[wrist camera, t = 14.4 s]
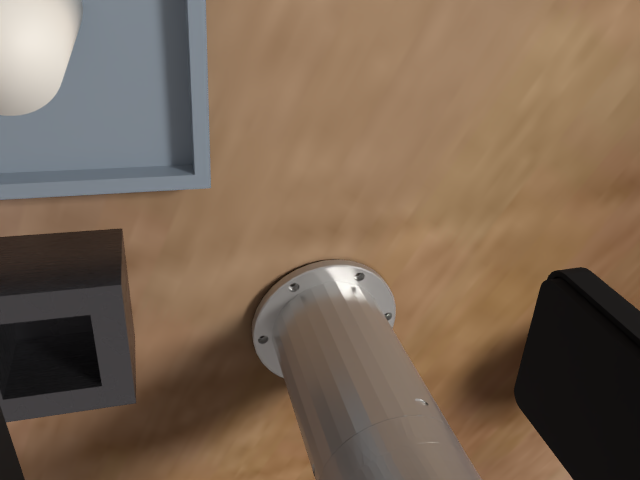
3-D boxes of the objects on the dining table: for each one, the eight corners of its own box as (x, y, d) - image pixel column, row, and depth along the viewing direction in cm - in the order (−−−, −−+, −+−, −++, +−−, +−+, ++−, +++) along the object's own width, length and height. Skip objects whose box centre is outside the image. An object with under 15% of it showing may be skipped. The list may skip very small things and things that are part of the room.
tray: (206, 172, 41) (210, 188, 39) (-89, 187, 36) (-102, 205, 34) (194, -225, 30) (198, -233, 28) (-236, -280, 25) (-268, -295, 23)
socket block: (134, 338, 46) (136, 403, 41) (-5, 355, 44) (-26, 426, 38) (122, 228, 41) (121, 284, 36) (-37, 239, 39) (-66, 302, 33)
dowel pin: (88, 47, 34) (72, 114, 24) (2, 46, 33) (-51, 117, 23) (76, -38, 32) (54, -2, 22) (-16, -42, 31) (-83, -6, 21)
